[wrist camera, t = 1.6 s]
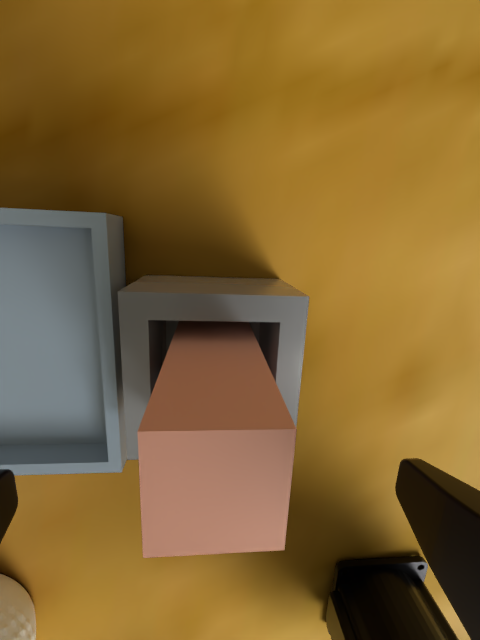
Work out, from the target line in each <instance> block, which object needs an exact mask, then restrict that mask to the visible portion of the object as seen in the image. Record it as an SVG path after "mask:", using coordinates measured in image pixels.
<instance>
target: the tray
mask: <svg viewBox="0 0 480 640" xmlns="http://www.w3.org/2000/svg"><path fill="white" fill-rule="evenodd" d="M124 287H126V273H125V253H124V232H123V217H121V216H117V215H112V214H108V213H96V212H76V211H56V210H36V209H16V208H0V469H9V470H12V472H13V473H14V475H42V474H77V473H112V472H122V470H123V468H124V465H125V463H126V460H127V450H126V432H125V414H124V396H123V379H122V361H121V343H120V325H119V308H118V291H119V290H121V289H123V288H124Z"/></svg>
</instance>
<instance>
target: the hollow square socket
mask: <svg viewBox="0 0 480 640" xmlns="http://www.w3.org/2000/svg"><path fill="white" fill-rule="evenodd" d="M308 304H309V296H307V295H306V294H304V293H302V292H301V291H299V290H298V289H296V288H294V287H293V286H291V285H289V284H288V283H286V282H284V281H283V280H281V279H265V278H234V277H202V276H171V275H145V276H143V277H141V278H140V279H138V280H136V281H135V282H133V283H131V284H130V285H128V286H126V287H124V288H123V289H121V290H119V291H118V308H119V325H120V343H121V361H122V379H123V396H124V414H125V432H126V450H127V460H136V459H139V455H138V433H137V431H138V429H139V426H140V423H141V421H142V418H143V415H144V413H145V410H146V407H147V405H148V402H149V399H150V397H151V394H152V392H153V389H154V386H155V384H156V381H157V378H158V376H159V373H160V370H161V368H162V365H163V362H164V360H165V357H166V354H167V352H168V349H169V346H170V344H171V341H172V338H173V336H174V333H175V330H176V328H177V325H178V322H179V321H230V322H249V324H250V326H251V328H252V331H253V333H254V335H255V337H256V340H257V342H258V344H259V346H260V348H261V351H262V353H263V355H264V357H265V360H266V362H267V364H268V366H269V369H270V371H271V373H272V375H273V377H274V380H275V382H276V384H277V386H278V389H279V391H280V393H281V395H282V398H283V400H284V402H285V404H286V407H287V409H288V411H289V413H290V415H291V418H292V420H293V422H294V424H295V427H296V424H297V414H298V404H299V394H300V384H301V374H302V364H303V354H304V344H305V334H306V324H307V314H308Z"/></svg>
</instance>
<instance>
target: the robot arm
mask: <svg viewBox="0 0 480 640" xmlns="http://www.w3.org/2000/svg"><path fill="white" fill-rule="evenodd" d="M395 489H396V495H397V498H398V500H399V502H400V504H401V506H402V509H403V511H404V513H405V515H406V517H407V519H408V522H409V524H410V526H411V528H412V530H413V532H414V534H415V537H416V539H417V541H418V543H419V545H420V547H421V549H422V552H423V554H424V556H425V558H426V560H427V562H428V564H429V566H430V568H431V569H432V571H433V573H434V575H435V577H436V579H437V580H438V582H439V584H440V586H441V587H442V589H443V591H444V593H445V594H446V596H447V598H448V600H449V601H450V603H451V605H452V607H453V608H454V610H455V612H456V614H457V615H458V617H459V619H460V621H461V623H462V624H463V626H464V628H465V630H466V631H467V633H468V635H469V637H470V638H471V640H480V491H479V490H477V489H475V488H473V487H472V486H470V485H468V484H466V483H464V482H462V481H460V480H458V479H457V478H455V477H453V476H451V475H449V474H447V473H445V472H444V471H442V470H440V469H438V468H436V467H434V466H432V465H431V464H429V463H427V462H425V461H423V460H421V459H418V458H413V459H403V460H402V461H401V462H400V466H399V471H398V476H397V481H396V486H395ZM17 505H18V496H17V490H16V484H15V477H14V473H13V472H12V470H9V469H0V543H1V541H2V539H3V537H4V535H5V533H6V531H7V529H8V527H9V525H10V523H11V521H12V518H13V516H14V514H15V512H16V509H17ZM427 568H428V565H427V563H426V562H425V560H424V558H423V557H421V556H414V557H397V558H381V559H364V560H347V561H340V562H338V563H337V564H336V567H335V573H334V580H333V586H332V590H331V592H330V594H329V600H328V607H327V613H326V622H327V629H328V632H329V634H330V635H331V639H332V640H459V639H458V638H457V636H456V634H455V633H454V631H453V630H452V628H451V626H450V625H449V623H448V621H447V620H446V618H445V617H444V615H443V613H442V612H441V610H440V608H439V607H438V605H437V604H436V602H435V600H434V599H433V597H432V595H431V594H430V592H429V591H428V589H427V587H426V586H425V584H424V579H425V576H426V572H427Z"/></svg>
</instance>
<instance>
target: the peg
mask: <svg viewBox="0 0 480 640" xmlns="http://www.w3.org/2000/svg"><path fill="white" fill-rule="evenodd" d="M296 430H297V429H296V427H295V424H294V422H293V420H292V418H291V415H290V413H289V411H288V409H287V407H286V404H285V402H284V400H283V398H282V395H281V393H280V391H279V389H278V386H277V384H276V382H275V380H274V377H273V375H272V373H271V371H270V369H269V366H268V364H267V362H266V360H265V357H264V355H263V353H262V351H261V348H260V346H259V344H258V342H257V340H256V337H255V335H254V333H253V331H252V328H251V326H250V324H249V322H230V321H179V322H178V325H177V328H176V330H175V333H174V336H173V338H172V341H171V344H170V346H169V349H168V352H167V354H166V357H165V360H164V362H163V365H162V368H161V370H160V373H159V376H158V378H157V381H156V384H155V386H154V389H153V392H152V394H151V397H150V399H149V402H148V405H147V407H146V410H145V413H144V415H143V418H142V421H141V423H140V426H139V429H138V431H137V433H138V455H139V477H140V499H141V521H142V544H143V558H151V557H169V556H187V555H205V554H223V553H242V552H260V551H278V550H284V549H285V539H286V530H287V520H288V510H289V500H290V490H291V480H292V470H293V460H294V450H295V440H296Z"/></svg>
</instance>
